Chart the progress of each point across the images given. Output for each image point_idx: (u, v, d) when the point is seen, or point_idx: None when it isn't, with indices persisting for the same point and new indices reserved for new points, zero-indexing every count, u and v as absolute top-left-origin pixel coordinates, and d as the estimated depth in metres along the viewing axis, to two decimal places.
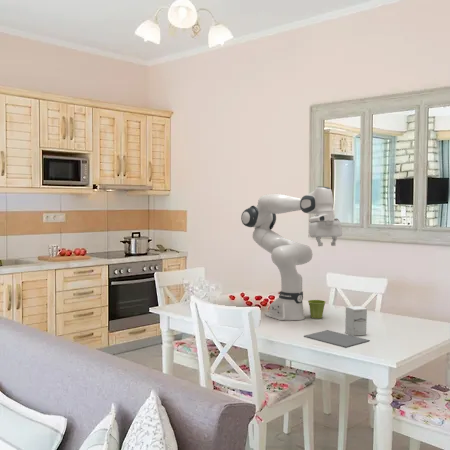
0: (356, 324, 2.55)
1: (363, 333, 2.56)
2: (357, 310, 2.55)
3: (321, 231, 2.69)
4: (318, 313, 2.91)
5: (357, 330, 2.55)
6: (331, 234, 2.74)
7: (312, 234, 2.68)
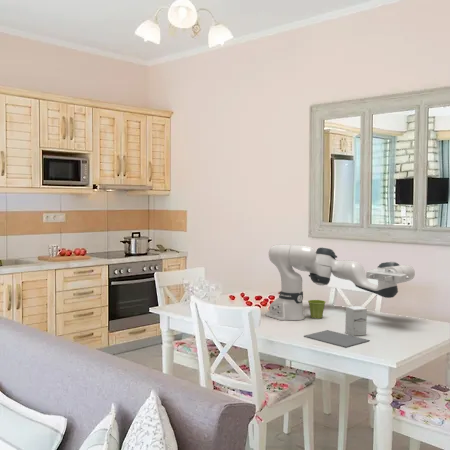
0: (356, 324, 2.55)
1: (363, 333, 2.56)
2: (357, 310, 2.55)
3: (376, 271, 2.77)
4: (318, 313, 2.91)
5: (357, 330, 2.55)
6: (386, 273, 2.71)
7: None
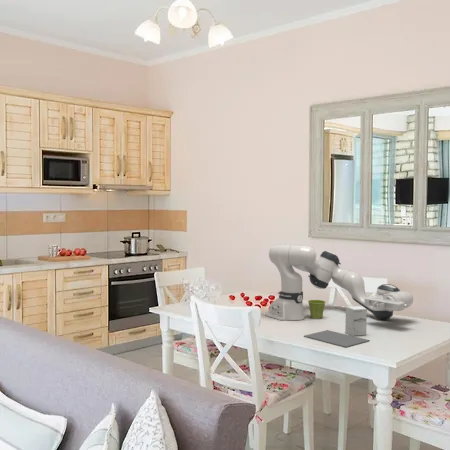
0: (356, 324, 2.55)
1: (363, 333, 2.56)
2: (357, 310, 2.55)
3: (374, 298, 2.77)
4: (318, 313, 2.91)
5: (357, 330, 2.55)
6: (384, 301, 2.70)
7: None
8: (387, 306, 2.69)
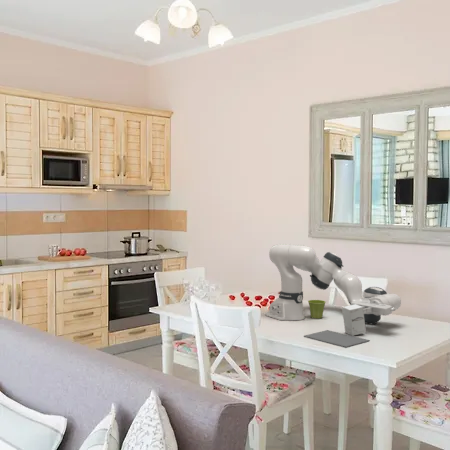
0: (354, 324, 2.54)
1: (363, 331, 2.56)
2: (353, 310, 2.54)
3: (360, 303, 2.68)
4: (318, 313, 2.91)
5: (356, 329, 2.55)
6: (371, 305, 2.61)
7: None
8: (374, 310, 2.60)
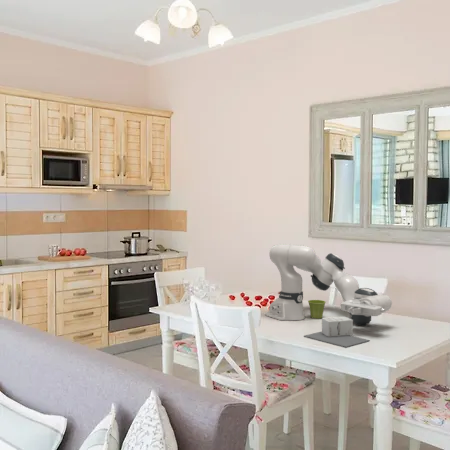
0: (342, 332, 2.53)
1: (351, 323, 2.54)
2: (329, 332, 2.51)
3: (350, 303, 2.64)
4: (318, 313, 2.91)
5: (348, 330, 2.54)
6: (361, 306, 2.58)
7: None
8: (363, 311, 2.56)
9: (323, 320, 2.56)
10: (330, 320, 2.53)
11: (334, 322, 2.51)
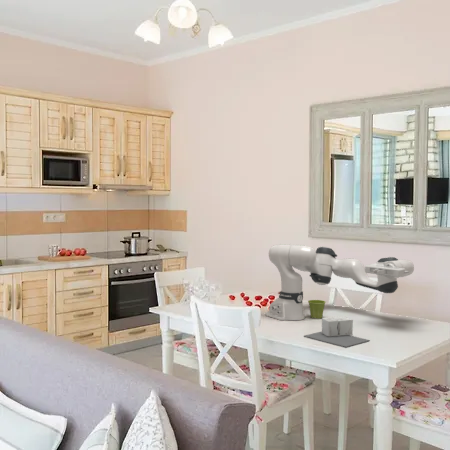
0: (342, 332, 2.53)
1: (351, 323, 2.54)
2: (329, 332, 2.51)
3: (375, 266, 2.76)
4: (318, 313, 2.91)
5: (348, 330, 2.54)
6: (385, 267, 2.69)
7: None
8: (388, 273, 2.68)
9: (323, 320, 2.56)
10: (330, 320, 2.53)
11: (334, 322, 2.52)
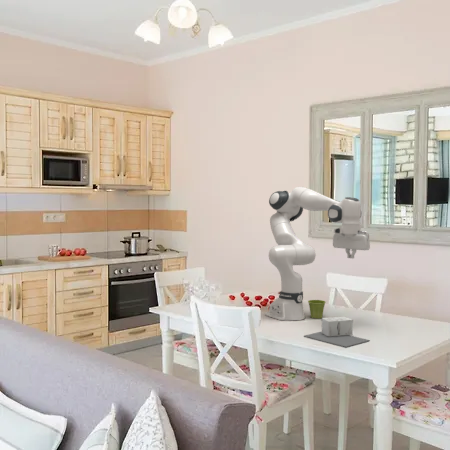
0: (342, 332, 2.53)
1: (351, 323, 2.54)
2: (329, 332, 2.51)
3: (340, 243, 2.75)
4: (318, 313, 2.91)
5: (348, 330, 2.54)
6: (351, 247, 2.69)
7: None
8: None
9: (323, 320, 2.56)
10: (330, 320, 2.53)
11: (334, 322, 2.52)
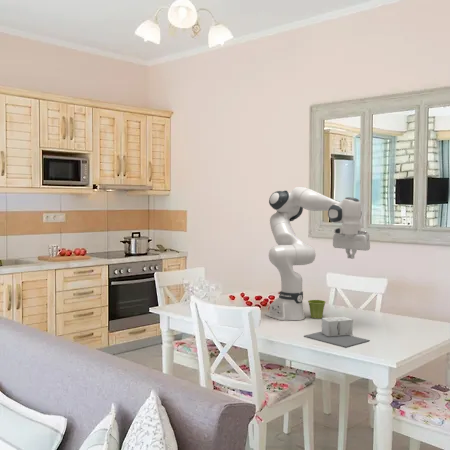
0: (342, 332, 2.53)
1: (351, 323, 2.54)
2: (329, 332, 2.51)
3: (340, 243, 2.75)
4: (318, 313, 2.91)
5: (348, 330, 2.54)
6: (351, 247, 2.69)
7: None
8: None
9: (323, 320, 2.56)
10: (330, 320, 2.53)
11: (334, 322, 2.52)
